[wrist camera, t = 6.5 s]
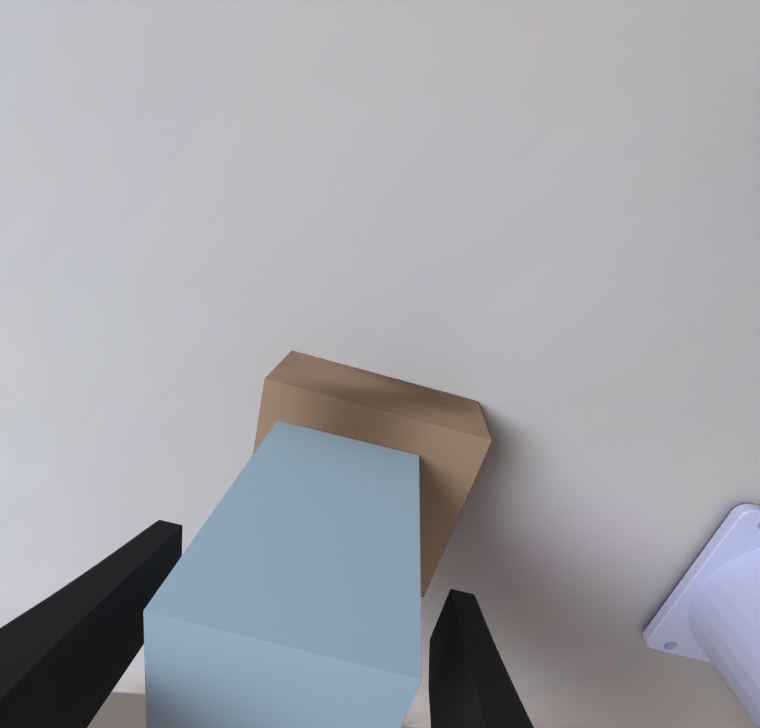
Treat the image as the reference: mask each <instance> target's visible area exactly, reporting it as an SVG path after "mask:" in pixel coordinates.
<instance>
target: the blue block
mask: <svg viewBox="0 0 760 728" xmlns="http://www.w3.org/2000/svg"><path fill="white" fill-rule="evenodd" d="M143 617H144V656H145V694H146V728H401V726H402V723H403V721H404V719H405V717H406V714H407V712H408V710H409V708H410V705H411V703H412V701H413V698H414V696H415V694H416V692H417V689H418V687H419V685H420V683H421V680H422V660H421V578H420V496H419V455H416V454H412V453H408V452H404V451H400V450H395V449H391V448H387V447H383V446H379V445H375V444H371V443H367V442H363V441H359V440H355V439H351V438H346V437H342V436H338V435H334V434H330V433H326V432H322V431H318V430H314V429H310V428H306V427H301V426H297V425H293V424H289V423H285V422H281V421H277V422H276V423H275V425H274V426H273V427H272V429H271V430H270V432H269V433H268V434H267V436H266V437H265V439H264V440H263V442H262V443H261V444H260V446H259V447H258V449H257V450H256V452H255V453H254V454H253V456H252V457H251V459H250V460H249V461H248V463H247V464H246V466H245V467H244V469H243V470H242V471H241V473H240V474H239V476H238V477H237V478H236V480H235V481H234V483H233V484H232V486H231V487H230V488H229V490H228V491H227V493H226V494H225V496H224V497H223V498H222V500H221V501H220V503H219V504H218V505H217V507H216V508H215V510H214V511H213V513H212V514H211V515H210V517H209V518H208V520H207V521H206V522H205V524H204V525H203V527H202V528H201V530H200V531H199V532H198V534H197V535H196V537H195V538H194V540H193V541H192V542H191V544H190V545H189V547H188V548H187V549H186V551H185V552H184V554H183V555H182V557H181V558H180V559H179V561H178V562H177V564H176V565H175V566H174V568H173V569H172V571H171V572H170V574H169V575H168V576H167V578H166V579H165V581H164V582H163V584H162V585H161V586H160V588H159V589H158V591H157V592H156V593H155V595H154V596H153V598H152V599H151V601H150V602H149V603H148V605H147V606H146V608H145V609H144V610H143Z"/></svg>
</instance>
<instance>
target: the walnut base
mask: <svg viewBox="0 0 760 728" xmlns="http://www.w3.org/2000/svg"><path fill="white" fill-rule="evenodd" d="M277 421H281V422H285V423H289V424H293V425H297V426H301V427H306V428H310V429H314V430H318V431H322V432H326V433H330V434H334V435H338V436H342V437H346V438H351V439H355V440H359V441H363V442H367V443H371V444H375V445H379V446H383V447H387V448H391V449H395V450H400V451H404V452H408V453H412V454H416V455H419V496H420V578H421V597H424V595H425V593H426V590H427V588H428V586H429V583H430V581H431V579H432V576H433V574H434V572H435V570H436V567H437V565H438V563H439V560H440V558H441V556H442V554H443V551H444V549H445V547H446V544H447V542H448V540H449V538H450V535H451V533H452V531H453V528H454V526H455V524H456V521H457V519H458V517H459V515H460V512H461V510H462V508H463V505H464V503H465V501H466V499H467V496H468V494H469V492H470V489H471V487H472V485H473V483H474V480H475V478H476V476H477V473H478V471H479V469H480V467H481V464H482V462H483V460H484V457H485V455H486V453H487V450H488V448H489V446H490V444H491V441H492V439H491V436H490V433H489V431H488V428H487V425H486V422H485V420H484V417H483V414H482V411H481V409H480V406H479V403H478V401H475V400H471V399H468V398H464V397H460V396H457V395H453V394H449V393H446V392H442V391H438V390H435V389H431V388H427V387H424V386H420V385H416V384H413V383H409V382H405V381H402V380H398V379H394V378H391V377H387V376H383V375H380V374H376V373H372V372H369V371H365V370H361V369H358V368H354V367H350V366H347V365H343V364H339V363H336V362H332V361H328V360H325V359H321V358H317V357H314V356H310V355H306V354H303V353H299V352H295V351H291V352H290V353H289V354H288V355H287V356H286V357H285V358H284V359H283V360H282V361H281V362H280V363H279V364H278V365H277V366H276V367H275V369H274V370H273V371H272V372H271V373H270V374H269V375H268V376H267V377H266V378H265V381H264V387H263V393H262V400H261V406H260V413H259V419H258V426H257V432H256V439H255V445H254V452H253V454H254V453H255V452H256V450H257V449H258V447H259V446H260V444H261V443H262V442H263V440H264V439H265V437H266V436H267V434H268V433H269V432H270V430H271V429H272V427H273V426H274V425H275V423H276V422H277Z"/></svg>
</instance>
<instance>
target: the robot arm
mask: <svg viewBox="0 0 760 728" xmlns="http://www.w3.org/2000/svg"><path fill="white" fill-rule="evenodd" d="M181 555H182V525H179V524H174V523H170V522H166V521H162V520H159V521H157V522H155V523H154V524H153V525H151V526H150V527H148V528H147V529H146V530H144V531H143V532H141V533H140V534H139V535H137V536H136V537H135V538H133V539H132V540H130V541H129V542H128V543H126V544H125V545H123V546H122V547H121V548H119V549H118V550H117V551H115V552H114V553H112V554H111V555H109V556H108V557H107V558H105V559H104V560H102V561H101V562H100V563H98V564H97V565H95V566H94V567H92V568H91V569H89V570H88V571H87V572H85V573H84V574H82V575H81V576H79V577H78V578H76V579H75V580H73V581H72V582H70V583H69V584H68V585H66V586H65V587H63V588H62V589H60V590H59V591H57V592H56V593H54V594H53V595H51V596H50V597H48V598H47V599H45V600H43V601H42V602H40V603H39V604H37V605H36V606H34V607H33V608H31V609H29V610H28V611H26V612H25V613H23V614H22V615H20V616H18V617H17V618H15V619H14V620H12V621H11V622H9V623H8V624H6V625H4V626H3V627H1V628H0V728H87V727H88V725H89V724H90V722H91V721H92V719H93V718H94V716H95V715H96V713H97V712H98V710H99V709H100V707H101V706H102V705H103V703H104V702H105V700H106V699H107V697H108V696H109V694H110V693H111V691H112V690H113V688H114V687H115V685H116V684H117V682H118V681H119V680H120V678H121V677H122V675H123V674H124V672H125V671H126V669H127V668H128V666H129V665H130V663H131V662H132V660H133V659H134V657H135V656H136V654H137V653H138V651H139V650H140V649H141V647H142V646H143V644H144V617H143V610H144V609H145V608H146V606H147V605H148V603H149V602H150V601H151V599H152V598H153V596H154V595H155V593H156V592H157V591H158V589H159V588H160V586H161V585H162V584H163V582H164V581H165V579H166V578H167V576H168V575H169V574H170V572H171V571H172V569H173V568H174V566H175V565H176V564H177V562H178V561H179V559H180V558H181ZM642 637H643V639H644V641H645V643H646V645H647V646H648V647H649V648H651V649H654V650H657V651H662V652H666V653H670V654H674V655H679V656H683V657H687V658H691V659H695V660H700V661H704V662H708V663H712V664H713V665H714V667H715V668H716V670H717V671H718V672H719V674H720V675H721V677H722V678H723V680H724V681H725V683H726V684H727V686H728V687H729V689H730V690H731V691H732V693H733V694H734V696H735V697H736V699H737V700H738V702H739V703H740V705H741V706H742V708H743V709H744V710H745V712H746V713H747V715H748V716H749V718H750V719H751V721H752V722H753V724H754V725H755V727H756V728H760V506H758V505H754V504H742V505H739V506H737V507H735V508H734V509H733V510H732V511H731V512H730V514H729V515H728V516H727V518H726V519H725V521H724V522H723V523H722V525H721V526H720V527H719V529H718V530H717V532H716V533H715V534H714V536H713V537H712V538H711V540H710V541H709V543H708V544H707V545H706V547H705V548H704V549H703V551H702V552H701V554H700V555H699V556H698V558H697V559H696V560H695V562H694V563H693V564H692V566H691V567H690V569H689V570H688V571H687V573H686V574H685V575H684V577H683V578H682V580H681V581H680V582H679V584H678V585H677V586H676V588H675V589H674V591H673V592H672V593H671V595H670V596H669V597H668V599H667V600H666V602H665V603H664V604H663V606H662V607H661V608H660V610H659V611H658V613H657V614H656V615H655V617H654V618H653V619H652V621H651V622H650V624H649V625H648V626H647V628H646V629H645V630H644V632H643V635H642ZM429 700H430V716H431V728H534V727H533V725H532V723H531V721H530V719H529V717H528V715H527V713H526V711H525V709H524V707H523V705H522V702H521V700H520V698H519V696H518V694H517V692H516V690H515V688H514V685H513V683H512V681H511V679H510V677H509V675H508V673H507V670H506V668H505V666H504V664H503V661H502V659H501V657H500V655H499V652H498V650H497V648H496V645H495V643H494V641H493V638H492V636H491V634H490V631H489V629H488V627H487V624H486V622H485V619H484V617H483V614H482V612H481V610H480V607H479V605H478V602H477V600H476V598H475V596H474V594H470V593H465V592H461V591H457V590H453V589H450V592H449V594H448V597H447V599H446V601H445V604H444V606H443V609H442V611H441V614H440V616H439V619H438V621H437V623H436V626H435V628H434V631H433V633H432V636H431V638H430V654H429Z"/></svg>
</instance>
